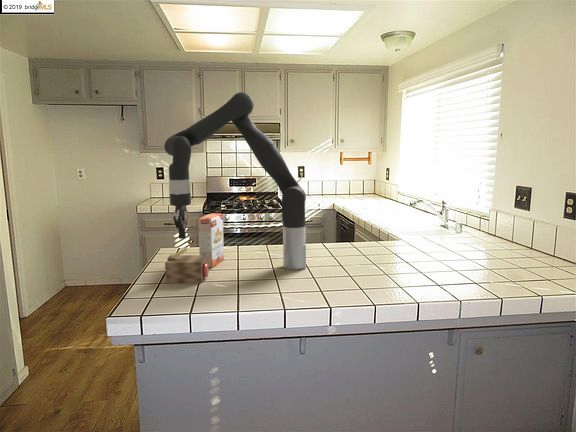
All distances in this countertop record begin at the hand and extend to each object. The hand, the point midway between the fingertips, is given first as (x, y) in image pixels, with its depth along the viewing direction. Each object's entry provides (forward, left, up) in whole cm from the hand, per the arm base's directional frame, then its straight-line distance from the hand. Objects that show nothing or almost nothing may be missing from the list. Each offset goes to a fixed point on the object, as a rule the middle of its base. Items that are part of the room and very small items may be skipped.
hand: (182, 238), depth 152 cm
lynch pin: (-1, 0, -15) cm, 15 cm away
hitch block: (-1, 0, -16) cm, 16 cm away
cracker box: (-7, -21, -16) cm, 27 cm away
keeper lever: (+2, 0, -7) cm, 7 cm away
